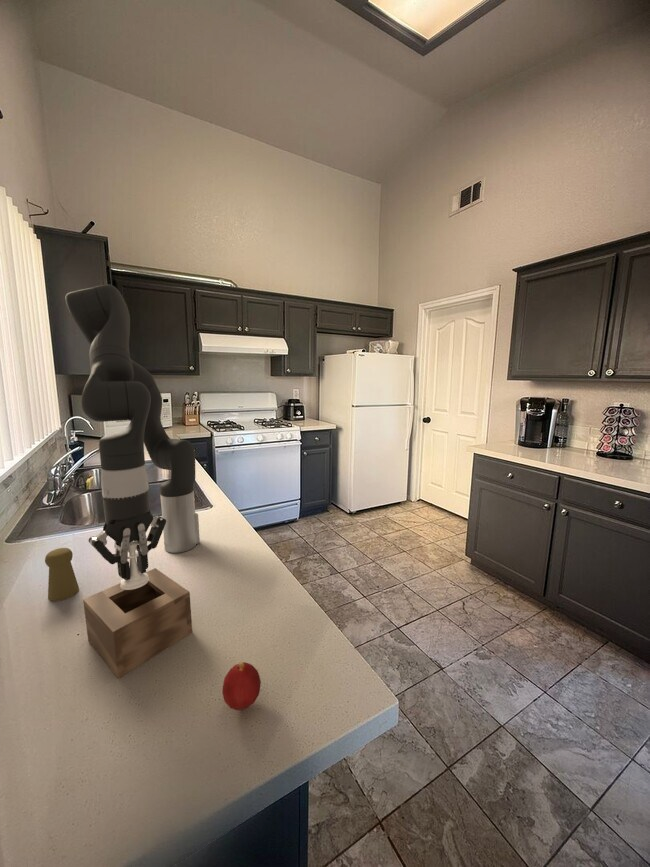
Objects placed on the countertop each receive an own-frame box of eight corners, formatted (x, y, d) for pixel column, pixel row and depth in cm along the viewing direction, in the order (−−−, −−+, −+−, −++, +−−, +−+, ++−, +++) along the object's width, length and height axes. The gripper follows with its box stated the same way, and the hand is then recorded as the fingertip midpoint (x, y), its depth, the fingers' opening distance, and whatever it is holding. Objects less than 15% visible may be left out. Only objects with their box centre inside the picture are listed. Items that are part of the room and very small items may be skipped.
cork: (62, 602, 80) (56, 558, 78) (41, 599, 81) (34, 555, 79) (85, 587, 86) (80, 545, 84) (65, 584, 87) (59, 543, 85)
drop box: (158, 604, 79) (155, 568, 78) (192, 632, 71) (189, 591, 69) (88, 640, 69) (83, 599, 67) (118, 678, 60) (113, 631, 59)
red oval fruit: (227, 691, 58) (225, 648, 56) (262, 688, 58) (261, 646, 57) (220, 726, 52) (217, 679, 51) (259, 723, 52) (257, 676, 51)
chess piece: (154, 578, 69) (150, 530, 68) (133, 592, 65) (129, 542, 63) (135, 573, 71) (131, 527, 69) (114, 586, 66) (109, 537, 65)
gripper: (153, 477, 72) (159, 554, 75) (75, 495, 62) (85, 584, 65) (172, 484, 68) (178, 566, 71) (90, 504, 57) (101, 600, 60)
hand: (134, 574), depth 68 cm, fingers closed on chess piece, 2 cm apart
